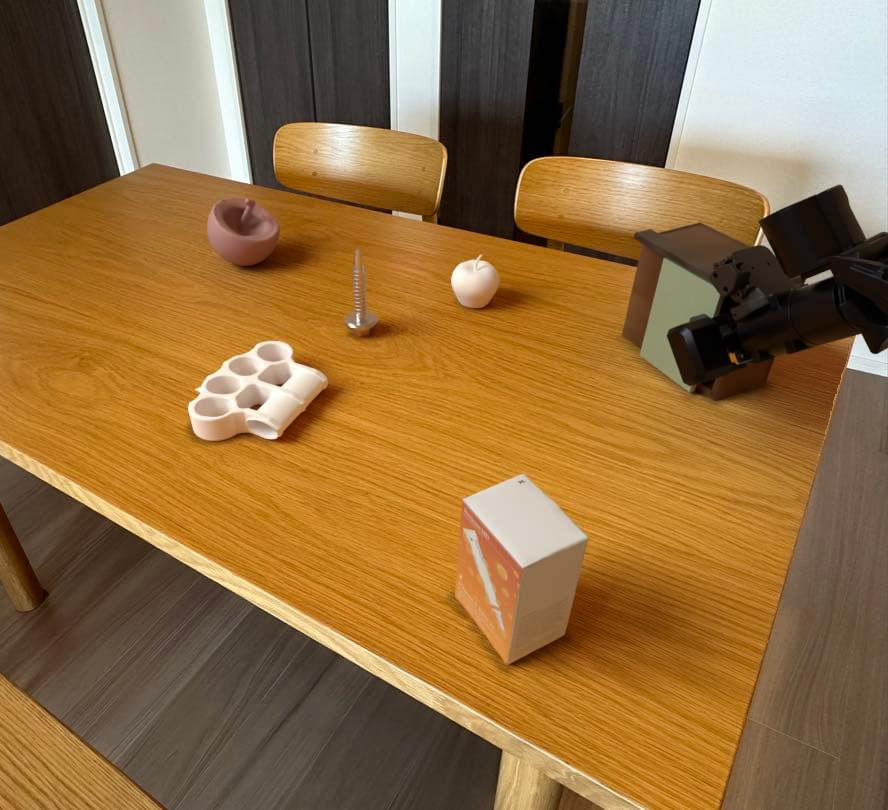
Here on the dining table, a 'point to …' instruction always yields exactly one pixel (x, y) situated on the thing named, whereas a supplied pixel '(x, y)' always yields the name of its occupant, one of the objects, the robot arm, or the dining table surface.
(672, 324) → the sliding door
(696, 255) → the cupboard
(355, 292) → the screw
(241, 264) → the mortar and pestle
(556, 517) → the small box
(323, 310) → the dining table surface
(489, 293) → the apple
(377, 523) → the dining table surface
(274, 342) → the white brass knuckles
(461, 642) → the dining table surface
